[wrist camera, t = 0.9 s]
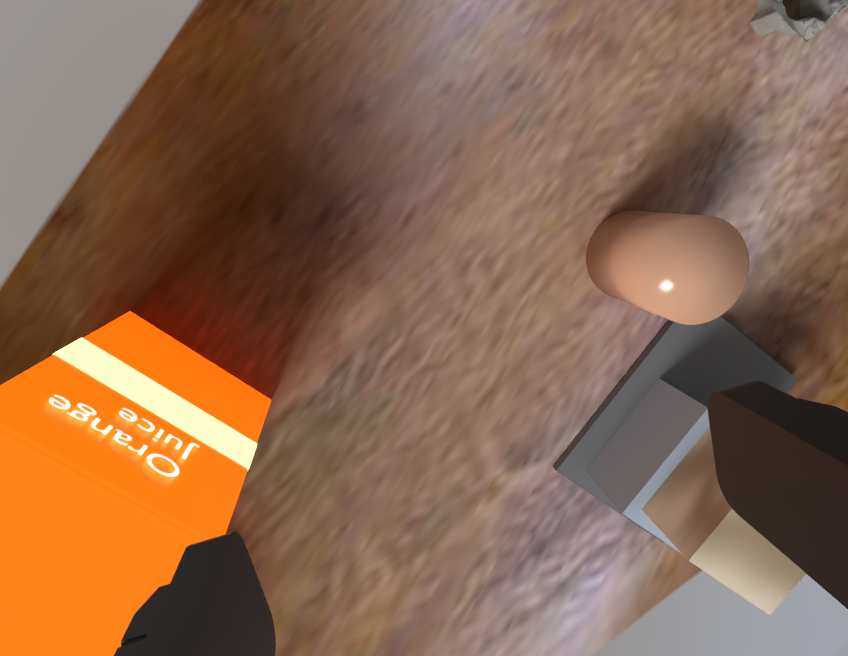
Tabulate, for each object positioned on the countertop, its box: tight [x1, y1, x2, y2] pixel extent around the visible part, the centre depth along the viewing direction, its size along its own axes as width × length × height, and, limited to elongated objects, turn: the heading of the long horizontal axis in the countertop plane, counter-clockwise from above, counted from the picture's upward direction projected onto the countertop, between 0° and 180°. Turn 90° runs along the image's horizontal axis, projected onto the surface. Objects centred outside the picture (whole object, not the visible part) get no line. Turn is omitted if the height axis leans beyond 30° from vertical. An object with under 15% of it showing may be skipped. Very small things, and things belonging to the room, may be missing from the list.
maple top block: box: [641, 428, 806, 615], centre depth 30 cm, size 6×6×4 cm
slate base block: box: [585, 379, 710, 554], centre depth 34 cm, size 7×7×5 cm
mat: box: [553, 316, 798, 542], centre depth 37 cm, size 13×9×1 cm
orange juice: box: [0, 311, 271, 656], centre depth 23 cm, size 8×9×20 cm
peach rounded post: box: [586, 210, 749, 325], centre depth 31 cm, size 5×5×7 cm
